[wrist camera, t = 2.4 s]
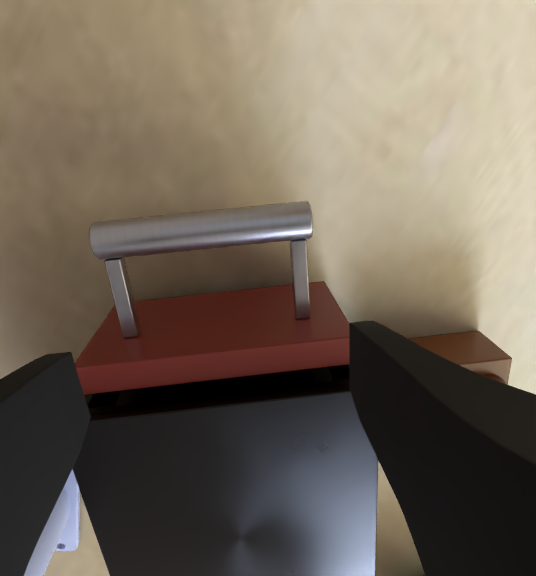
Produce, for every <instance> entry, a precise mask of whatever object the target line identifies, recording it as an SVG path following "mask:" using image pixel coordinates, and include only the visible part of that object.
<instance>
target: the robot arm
mask: <svg viewBox="0 0 536 576" xmlns="http://www.w3.org/2000/svg"><path fill="white" fill-rule="evenodd" d="M349 388H350V391H351V395H352V398H353V401H354V404H355V407H356V410H357V413H358V416H359V419H360V422H361V424H362V426H363V429H364V431H365V433H366V435H367V437H368V439H369V441H370V443H371V446H372V448H373V450H374V452H375V454H376V456H377V458H378V460H379V462H380V464H381V466H382V469H383V471H384V473H385V475H386V477H387V479H388V481H389V483H390V485H391V487H392V489H393V491H394V494H395V496H396V498H397V500H398V502H399V505H400V507H401V509H402V512H403V514H404V517H405V519H406V522H407V525H408V527H409V530H410V533H411V536H412V538H413V541H414V544H415V547H416V549H417V552H418V555H419V558H420V561H421V563H422V566H423V569H424V572H425V575H426V576H536V395H535V394H532V393H529V392H526V391H523V390H520V389H518V388H515V387H512V386H509V385H507V384H504V383H501V382H499V381H496V380H493V379H491V378H488V377H486V376H483V375H481V374H478V373H476V372H474V371H471V370H469V369H467V368H465V367H462V366H460V365H458V364H456V363H454V362H452V361H449V360H447V359H445V358H443V357H441V356H439V355H437V354H435V353H433V352H431V351H429V350H427V349H425V348H424V347H422V346H420V345H418V344H416V343H414V342H412V341H411V340H409V339H407V338H405V337H403V336H402V335H400V334H398V333H396V332H394V331H392V330H391V329H389V328H387V327H385V326H383V325H381V324H379V323H377V322H375V321H363V322H353V323H349ZM90 417H91V416H90V413H89V410H88V406H87V403H86V400H85V396H84V393H83V390H82V386H81V383H80V380H79V377H78V373H77V370H76V367H75V363H74V360H73V357H72V353H71V352H66V353H56V354H47V355H45V356H42V357H40V358H38V359H36V360H34V361H32V362H30V363H28V364H26V365H24V366H23V367H21V368H19V369H17V370H16V371H14V372H12V373H10V374H9V375H7V376H5V377H4V378H2V379H0V576H44V574H45V571H46V569H47V567H48V564H49V562H50V560H51V557H52V555H53V553H54V551H73V550H75V549H76V548H77V546H78V544H79V509H80V489H79V486H78V484H77V481H76V478H75V475H74V472H73V466H74V464H75V462H76V460H77V458H78V455H79V453H80V450H81V447H82V444H83V441H84V438H85V435H86V431H87V428H88V424H89V421H90Z"/></svg>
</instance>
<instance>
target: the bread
mask: <svg viewBox="0 0 536 576" xmlns="http://www.w3.org/2000/svg"><path fill="white" fill-rule="evenodd" d="M409 340H411V341H412V342H414V343H416V344H418V345H420V346H422V347H424V348H425V349H427V350H429V351H431V352H433V353H435V354H437V355H439V356H441V357H443V358H445V359H447V360H449V361H452V362H454V363H456V364H458V365H460V366H462V367H465V368H467V369H469V370H471V371H474V372H476V373H478V374H481V375H483V376H486V377H488V378H491V379H493V380H496V381H499V382H501V383H504V384H507V385H508V379H509V373H510V367H511V361H512V358H511V357H510V356H509V355H508V354H506V353H505V352H504V351H503V350H501V349H500V348H499V347H498V346H497V345H495V344H494V343H493V342H492V341H491V340H489V339H488V338H487V337H486V336H485V335H483V334H482V333H481V332H480V331H472V332H463V333H455V334H446V335H437V336H428V337H419V338H410V339H409Z"/></svg>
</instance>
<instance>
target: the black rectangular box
mask: <svg viewBox="0 0 536 576" xmlns="http://www.w3.org/2000/svg"><path fill="white" fill-rule="evenodd" d="M328 368H329V371H330V373H331V376H332V378H333V380H331V381H322V382H314V383H305V384H296V385H288V386H279V387H271V388H262V389H253V390H245V391H236V392H228V393H219V394H211V395H202V396H193V397H185V398H176V399H168V400H159V401H151V402H142V403H133V404H125V405H116V406H115V404H116V401H117V399H118V397H119V395H120V392H121V391H113V392H105V393H96V394H87V395H84V396H85V400H86V403H87V406H88V410H89V413H90V416H91V417H90V421H89V424H88V428H87V431H86V435H85V438H84V441H83V444H82V447H81V450H80V453H79V455H78V458H77V460H76V462H75V464H74V466H73V472H74V475H75V478H76V481H77V484H78V486H79V489H80V492H81V495H82V498H83V500H84V503H85V506H86V509H87V512H88V515H89V517H90V520H91V523H92V526H93V529H94V532H95V534H96V537H97V540H98V543H99V546H100V549H101V551H102V554H103V557H104V560H105V563H106V565H107V568H108V571H109V574H110V576H375V568H376V527H377V486H378V458H377V456H376V454H375V452H374V450H373V448H372V446H371V443H370V441H369V439H368V437H367V435H366V433H365V431H364V429H363V426H362V424H361V422H360V419H359V416H358V413H357V410H356V407H355V404H354V401H353V398H352V395H351V391H350V388H349V364H348V365H339V366H330V367H328Z"/></svg>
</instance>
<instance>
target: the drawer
mask: <svg viewBox="0 0 536 576" xmlns="http://www.w3.org/2000/svg"><path fill="white" fill-rule="evenodd" d="M312 233H313V219H312V211H311V207H310V204H309V202H308V201H301V202H291V203H281V204H271V205H261V206H251V207H241V208H231V209H220V210H210V211H200V212H190V213H180V214H170V215H160V216H150V217H139V218H129V219H119V220H109V221H99V222H93V223H92V224H91V226H90V230H89V239H90V245H91V248H92V251H93V253H94V255H95V257H96V258H97V259H100V260H103V259H106V260H105V265H106V269H107V273H108V277H109V281H110V285H111V289H112V293H113V297H114V301H115V306H114V307H113V308H112V310H111V311H110V313H109V314H108V316H107V317H106V319H105V320H104V321H103V323H102V324H101V326H100V327H99V329H98V330H97V332H96V333H95V335H94V336H93V337H92V339H91V340H90V342H89V343H88V345H87V346H86V348H85V349H84V350H83V352H82V353H81V355H80V356H79V358H78V359H77V361H76V362H75V367H76V370H77V373H78V377H79V380H80V383H81V386H82V390H83V393H84V395H87V394H96V393H105V392H113V391H121V392H120V395H119V397H118V399H117V401H116V404H115V406H116V405H125V404H133V403H142V402H151V401H159V400H168V399H176V398H185V397H193V396H202V395H211V394H219V393H228V392H236V391H245V390H253V389H262V388H271V387H279V386H288V385H296V384H305V383H314V382H322V381H331V380H333V378H332V376H331V373H330V371H329V368H328V367H330V366H339V365H348V364H349V323H348V321H347V319H346V317H345V316H344V314H343V312H342V311H341V309H340V307H339V306H338V304H337V302H336V300H335V299H334V297H333V295H332V294H331V292H330V290H329V288H328V287H327V285H326V283H325V282H324V281H322V282H313V283H309V280H308V260H307V241H306V239H308V238H311V237H312ZM279 241H290V257H291V272H292V285H284V286H275V287H266V288H256V289H247V290H238V291H228V292H219V293H210V294H200V295H191V296H181V297H172V298H163V299H153V300H144V301H135V302H134V298H133V294H132V289H131V285H130V280H129V276H128V272H127V267H126V263H125V259H124V257H133V256H142V255H152V254H162V253H172V252H181V251H191V250H201V249H211V248H221V247H230V246H240V245H250V244H260V243H269V242H279Z"/></svg>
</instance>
